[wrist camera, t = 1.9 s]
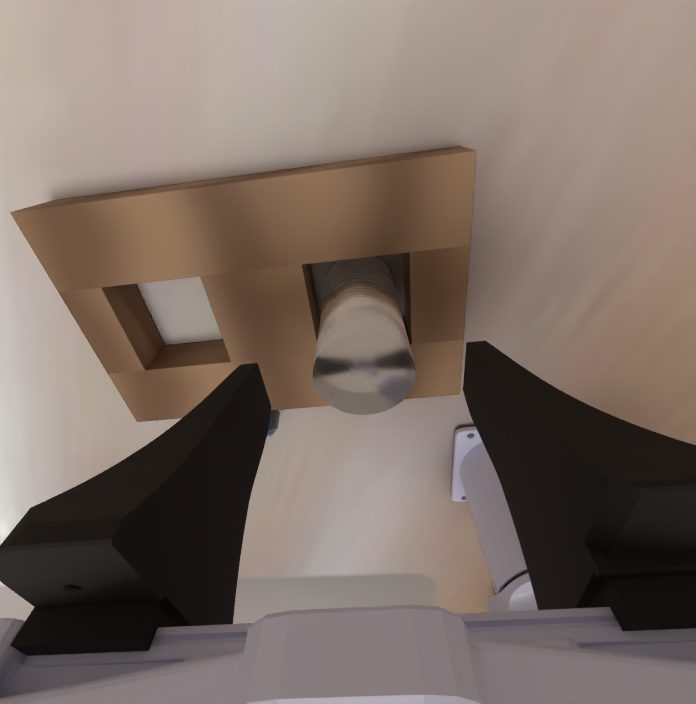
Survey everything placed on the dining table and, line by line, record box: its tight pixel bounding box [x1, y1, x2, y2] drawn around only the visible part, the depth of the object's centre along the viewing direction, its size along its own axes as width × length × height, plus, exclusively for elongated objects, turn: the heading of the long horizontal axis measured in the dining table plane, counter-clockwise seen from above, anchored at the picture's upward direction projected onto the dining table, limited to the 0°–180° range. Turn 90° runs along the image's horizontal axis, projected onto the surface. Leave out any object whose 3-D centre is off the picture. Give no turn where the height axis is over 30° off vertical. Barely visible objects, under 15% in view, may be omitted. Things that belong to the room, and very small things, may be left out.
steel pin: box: [313, 256, 416, 415], centre depth 16 cm, size 4×4×8 cm
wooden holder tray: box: [10, 146, 476, 422], centre depth 18 cm, size 19×12×2 cm, turn 97°
